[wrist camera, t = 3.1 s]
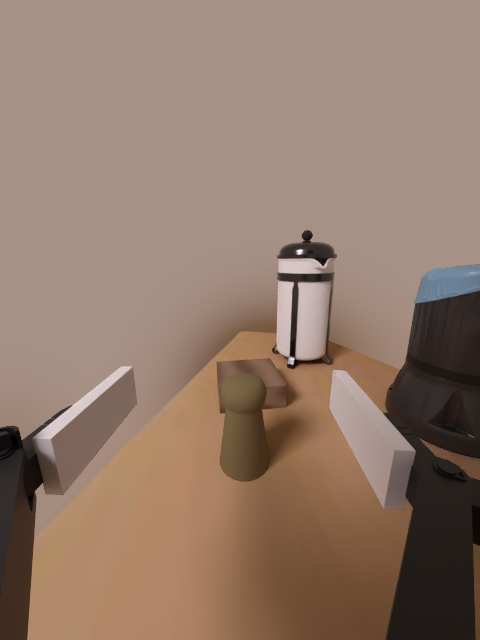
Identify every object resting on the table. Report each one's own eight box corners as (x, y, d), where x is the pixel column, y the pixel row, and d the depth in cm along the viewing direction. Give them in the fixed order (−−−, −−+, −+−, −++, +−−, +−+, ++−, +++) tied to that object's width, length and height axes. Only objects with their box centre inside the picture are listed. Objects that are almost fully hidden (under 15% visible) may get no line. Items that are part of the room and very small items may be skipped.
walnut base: (269, 375, 50) (270, 358, 49) (286, 406, 39) (287, 385, 38) (217, 379, 49) (216, 361, 48) (220, 413, 38) (219, 390, 37)
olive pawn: (214, 478, 27) (210, 391, 24) (224, 439, 32) (222, 365, 30) (268, 484, 26) (270, 395, 23) (269, 443, 32) (270, 367, 29)
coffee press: (340, 353, 61) (352, 231, 54) (320, 377, 49) (332, 222, 42) (280, 340, 71) (283, 236, 64) (251, 358, 59) (251, 230, 52)
